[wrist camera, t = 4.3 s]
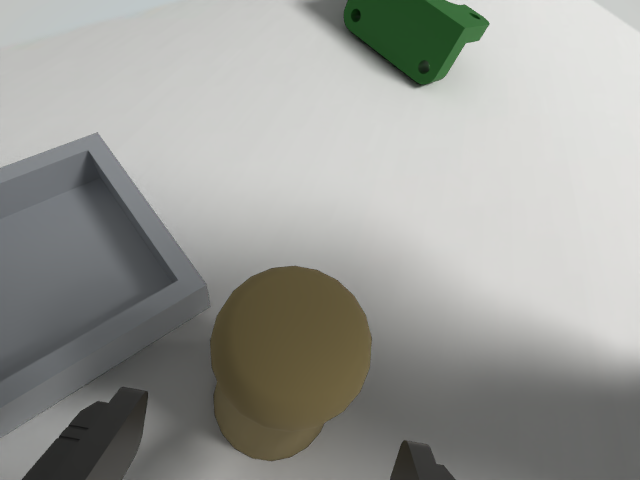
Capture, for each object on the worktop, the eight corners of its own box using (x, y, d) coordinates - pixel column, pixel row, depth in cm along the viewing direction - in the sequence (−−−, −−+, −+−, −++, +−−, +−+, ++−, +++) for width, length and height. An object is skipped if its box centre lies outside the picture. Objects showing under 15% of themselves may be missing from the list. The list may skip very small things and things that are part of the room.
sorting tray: (111, 165, 27) (97, 132, 24) (210, 306, 23) (206, 284, 20) (-114, 256, 21) (-161, 226, 19) (-31, 457, 18) (-76, 453, 15)
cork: (219, 337, 22) (203, 232, 13) (327, 339, 23) (386, 243, 14) (206, 462, 19) (175, 445, 10) (332, 459, 20) (412, 440, 11)
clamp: (423, 100, 42) (503, 42, 36) (392, 111, 39) (475, 48, 32) (367, -2, 42) (437, -81, 35) (331, -2, 38) (401, -90, 31)
